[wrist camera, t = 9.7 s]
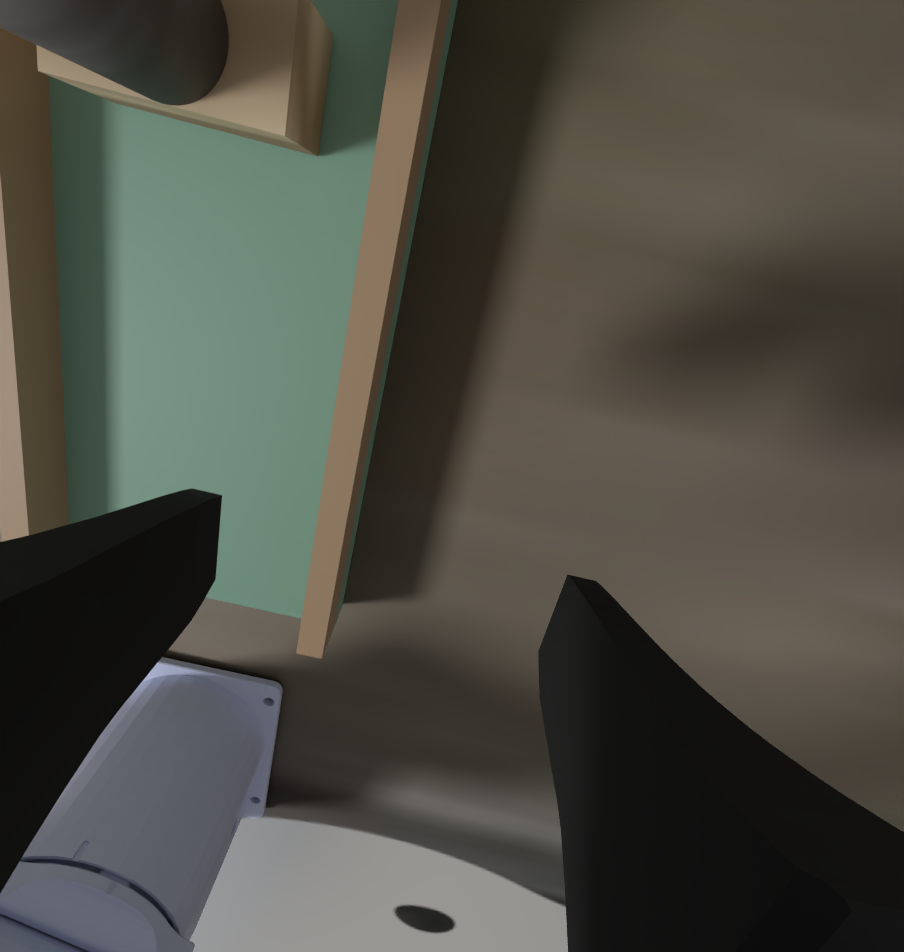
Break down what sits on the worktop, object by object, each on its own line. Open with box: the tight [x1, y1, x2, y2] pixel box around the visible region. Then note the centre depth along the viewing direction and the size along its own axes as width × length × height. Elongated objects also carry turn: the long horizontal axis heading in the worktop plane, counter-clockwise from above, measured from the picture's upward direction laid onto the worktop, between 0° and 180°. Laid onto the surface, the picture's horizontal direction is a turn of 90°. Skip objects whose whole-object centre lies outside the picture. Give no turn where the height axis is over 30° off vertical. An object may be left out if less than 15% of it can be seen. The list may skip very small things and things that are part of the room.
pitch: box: [0, 0, 458, 659], centre depth 14 cm, size 32×12×8 cm, turn 167°
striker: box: [0, 0, 333, 156], centre depth 12 cm, size 3×6×8 cm, turn 77°
